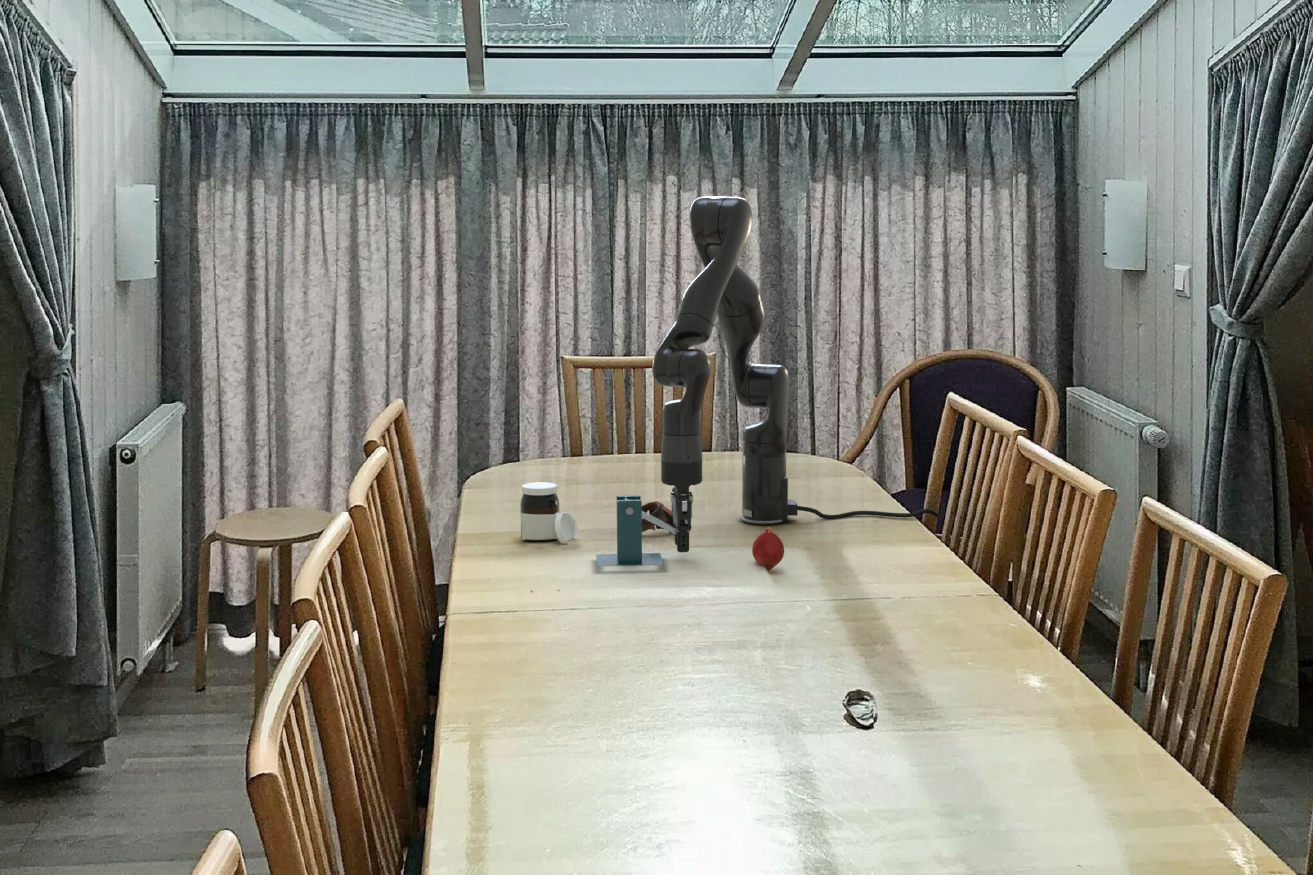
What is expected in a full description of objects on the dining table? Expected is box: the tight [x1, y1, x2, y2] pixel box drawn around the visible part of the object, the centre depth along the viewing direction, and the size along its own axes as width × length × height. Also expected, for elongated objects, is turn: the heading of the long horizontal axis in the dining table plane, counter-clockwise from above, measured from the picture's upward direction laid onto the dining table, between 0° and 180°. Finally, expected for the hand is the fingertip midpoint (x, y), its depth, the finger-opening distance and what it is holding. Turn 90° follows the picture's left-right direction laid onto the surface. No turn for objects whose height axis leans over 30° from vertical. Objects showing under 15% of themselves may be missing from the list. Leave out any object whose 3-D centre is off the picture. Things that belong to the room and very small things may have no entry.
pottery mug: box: [642, 500, 676, 535], centre depth 279 cm, size 12×10×8 cm
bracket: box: [596, 494, 664, 567], centre depth 254 cm, size 12×9×13 cm
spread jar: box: [519, 481, 579, 545], centre depth 272 cm, size 12×11×12 cm
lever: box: [624, 498, 677, 536], centre depth 254 cm, size 13×5×2 cm, turn 93°
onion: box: [751, 527, 785, 571], centre depth 251 cm, size 6×6×8 cm
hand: (681, 547), depth 255 cm, fingers closed on lever, 5 cm apart
